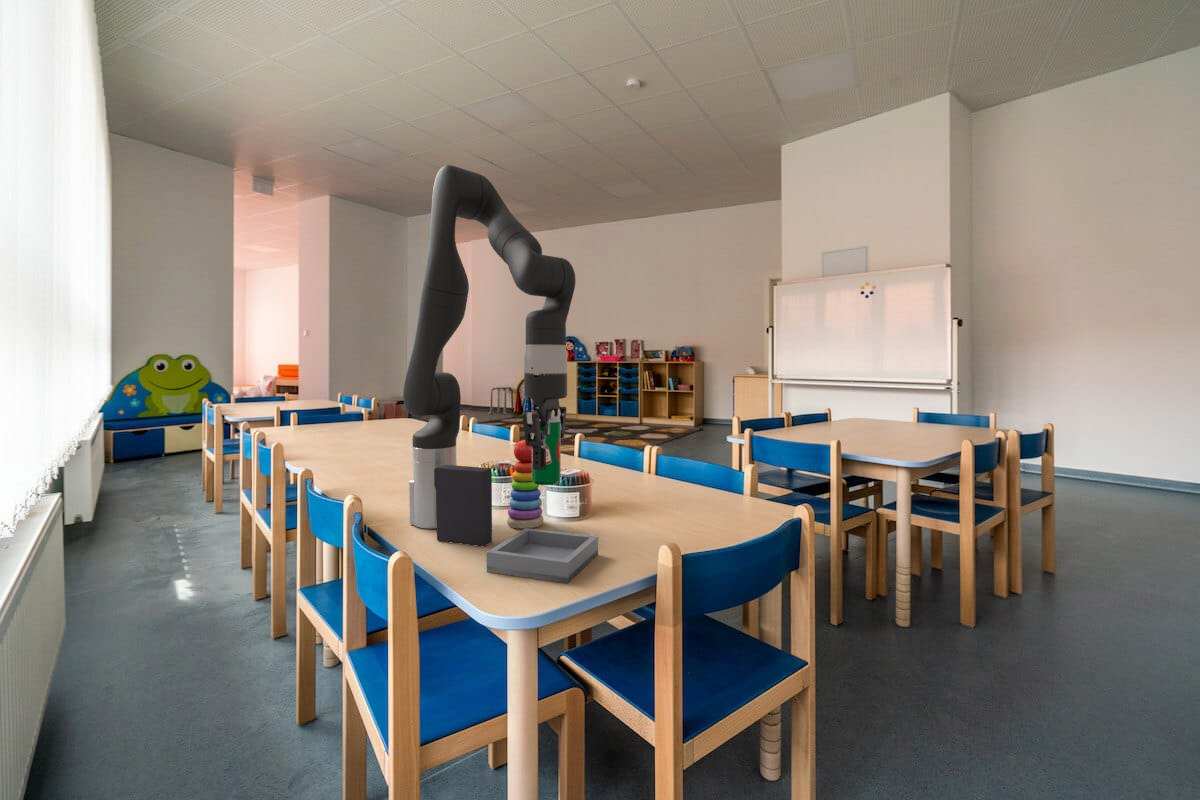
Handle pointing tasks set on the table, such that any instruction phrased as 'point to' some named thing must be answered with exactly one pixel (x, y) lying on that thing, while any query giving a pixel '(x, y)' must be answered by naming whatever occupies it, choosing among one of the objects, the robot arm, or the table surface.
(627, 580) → the table surface
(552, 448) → the soda can
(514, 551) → the tray
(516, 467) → the stacking toy
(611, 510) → the table surface
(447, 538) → the black upright block
